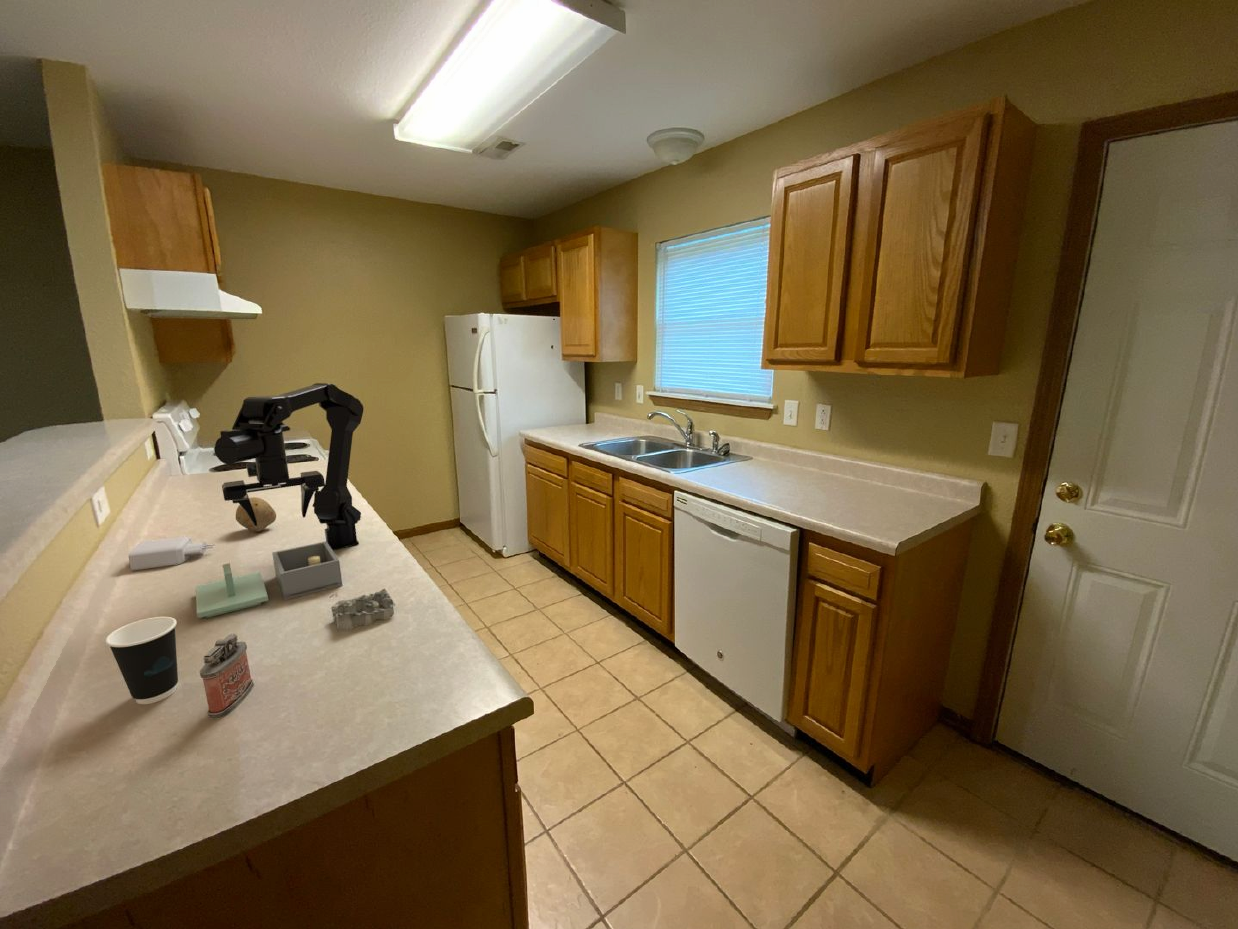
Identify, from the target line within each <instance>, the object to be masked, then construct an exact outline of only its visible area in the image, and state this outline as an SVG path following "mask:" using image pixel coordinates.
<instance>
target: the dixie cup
mask: <svg viewBox="0 0 1238 929" xmlns="http://www.w3.org/2000/svg"><path fill="white" fill-rule="evenodd" d="M177 624H178V623H177V619H176V618H173V617H170V616H155V617H149V618H144V619H140V620H136V621H134V622H130V623H127V624H125V625H123V626H121V627H119V628H117V629H116V630H113V631H112V632H110V634H108V635H107V637H106V638H105V644H106V645H107V646H108V647H109V648H110V650H111V652H112V655H113V657H114V659H115V661H116V664H117V667H118V668H119V671H120V673H121V675H122V677H123V680H124V681H125V682H124V683H125V685H126V686H127V690H128V691H129V694H130V695H131V698H133V699H134V700H135V702H136V703H137V704H138V705H148V704H154V703H156V702H160V701H163V700H164V699H166V698H168V697H169V696H171V695H173V694H174V693H175V692H176V690H177V684H178V682H179V676H178V675H179V674H178V673H179V672H178V661H177V660H178V659H177V657H178V656H177V655H178V654H177V643H176V642H177V641H176V626H177Z"/></svg>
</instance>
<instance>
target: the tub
mask: <svg viewBox="0 0 1238 929" xmlns="http://www.w3.org/2000/svg"><path fill="white" fill-rule="evenodd" d="M271 553H272V561H273V565H274V566H273V567H274V574H275V578H276V581H277V584H278V586H279V588H280V591H281V595H282V597H283V599H284V601H287V600H290V599H294V598H297V597H298V598H299V597H302V596H306V595H310V594H314V593H318V592H322V591H325V590H326V591H327V590H331V589H333V588H338V587H341V586H343V579H342V570H341V565H340V564H341V562H340V560H339V558H338V556H337V555H336V553H335V552H334V550H332V549H331V547H330V546H329V544H328V543H327V541H326V540H325V541H322V542H317V543H316V542H315V543H311V544H307V545H302V546H297V547H292V548H286V549H282V550H278V551H273V552H271Z"/></svg>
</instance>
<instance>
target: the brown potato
mask: <svg viewBox="0 0 1238 929" xmlns="http://www.w3.org/2000/svg"><path fill="white" fill-rule="evenodd" d="M249 499H250V502H251V505H252V508H253V511H254V514H255V517H256V520H257V526H255V525H254V523H253V522H252V520H251V518H250V517H249V515H248V513H247V512H246V511H245V510H244V508H243V507H242V506H241V505H240V504H239V505H238V506H237V508H236V511H235V520H236V521H237V523H238V524H239V525H240V526H242V527H244V528H245V529H247V530H249V531H250V532H253V533H259V532H262V531H264V530H265V529H266V528H267V527H269V526H271V525H272V524H274V523H275V521H276V519H277V513H276V511H275V509H274V508H273V507H272V506H271V504H270V503H269V502H268V501H267V500H265V499H262V498H260V497H257V496H256V497H255V496H250V497H249Z"/></svg>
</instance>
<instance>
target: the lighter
mask: <svg viewBox="0 0 1238 929" xmlns="http://www.w3.org/2000/svg"><path fill="white" fill-rule="evenodd" d="M247 648H248V645H247V642H246V641H239V640H238V635H237V633H230V634H228V635H227V636H226V637H224V638H223V639H217V640H216V641H215V643H214V646H213V647H212V648H210V649H209V650H208V652H206V653H205V654H204V655H203V657H202V658H203V662H204V665H203V667H201V669H200V670H199V676H200V678H201V679H202V682H203V687H204V691H205V697H206V701H207V706H208V710H207V714H208V718H209V719H210V720H219V719H222V718H224V717H226V716H228V715H229V714H230V713H232V711H234V710H235V709H236V708H237V707H239V706H240V705H241V704H242V703H243V701H245V699H246V698H247V697H248V696H249V694H250V693H251V692H252V690H253V688H254V687H255V686H254V685H255V684H254V680H253V679H252V677H251V670H250V664H249V660H248V656H247V655H248V654H247Z"/></svg>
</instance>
